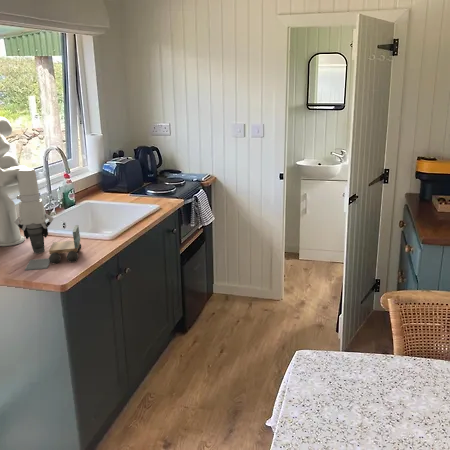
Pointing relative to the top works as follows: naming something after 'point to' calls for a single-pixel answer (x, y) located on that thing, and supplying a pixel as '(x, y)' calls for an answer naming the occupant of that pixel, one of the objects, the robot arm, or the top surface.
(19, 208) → the robot arm
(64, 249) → the trolley
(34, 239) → the beverage cup
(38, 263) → the mat
